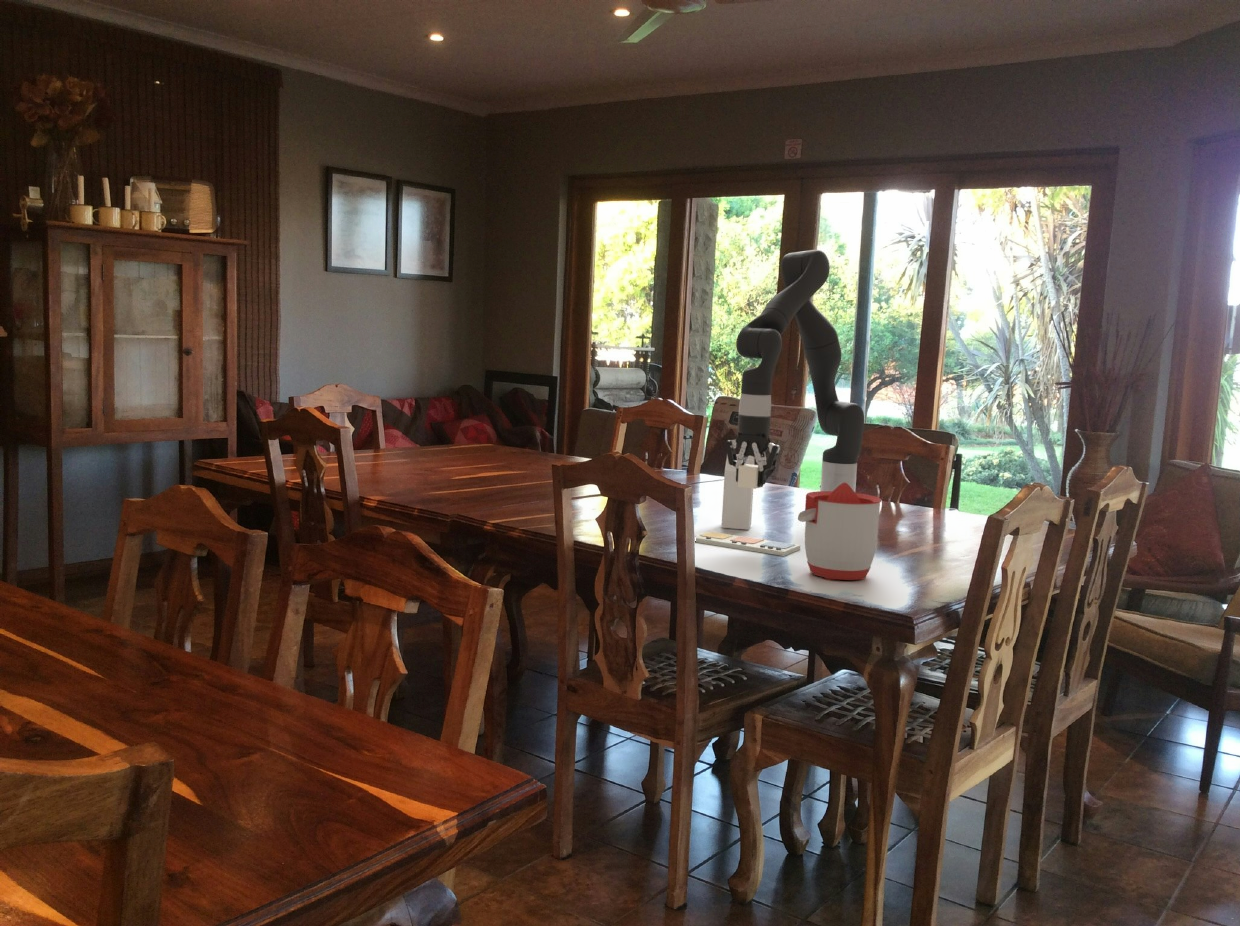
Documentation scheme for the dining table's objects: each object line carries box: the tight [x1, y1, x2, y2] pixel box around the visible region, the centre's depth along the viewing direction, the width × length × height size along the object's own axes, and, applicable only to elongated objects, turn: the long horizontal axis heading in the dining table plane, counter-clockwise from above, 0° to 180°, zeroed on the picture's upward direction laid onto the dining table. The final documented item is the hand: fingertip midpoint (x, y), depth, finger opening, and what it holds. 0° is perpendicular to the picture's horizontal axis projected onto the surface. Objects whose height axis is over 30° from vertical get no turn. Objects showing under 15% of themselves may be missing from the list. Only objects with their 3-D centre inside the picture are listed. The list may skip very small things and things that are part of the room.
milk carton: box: [721, 453, 755, 531], centre depth 278 cm, size 7×7×19 cm
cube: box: [738, 464, 764, 490], centre depth 254 cm, size 4×4×5 cm
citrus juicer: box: [797, 482, 883, 581], centre depth 226 cm, size 16×17×20 cm
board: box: [695, 531, 801, 557], centre depth 255 cm, size 10×24×1 cm, turn 59°
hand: (750, 484), depth 254 cm, fingers closed on cube, 4 cm apart
